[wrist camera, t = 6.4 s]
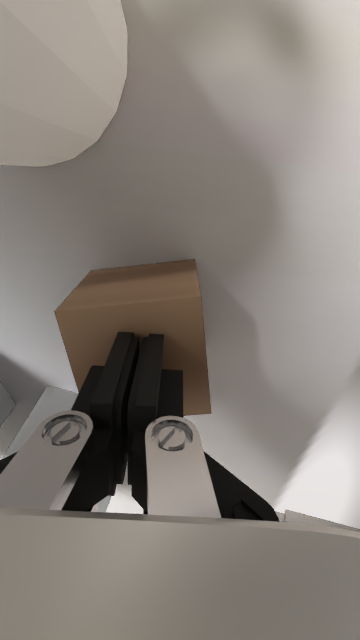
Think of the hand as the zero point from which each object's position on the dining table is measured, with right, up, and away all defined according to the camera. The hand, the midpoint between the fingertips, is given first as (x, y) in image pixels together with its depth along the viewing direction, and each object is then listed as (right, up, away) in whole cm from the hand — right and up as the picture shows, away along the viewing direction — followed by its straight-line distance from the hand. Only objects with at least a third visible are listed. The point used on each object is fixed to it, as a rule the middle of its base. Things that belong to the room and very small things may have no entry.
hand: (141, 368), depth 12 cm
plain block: (0, +2, +4) cm, 5 cm away
